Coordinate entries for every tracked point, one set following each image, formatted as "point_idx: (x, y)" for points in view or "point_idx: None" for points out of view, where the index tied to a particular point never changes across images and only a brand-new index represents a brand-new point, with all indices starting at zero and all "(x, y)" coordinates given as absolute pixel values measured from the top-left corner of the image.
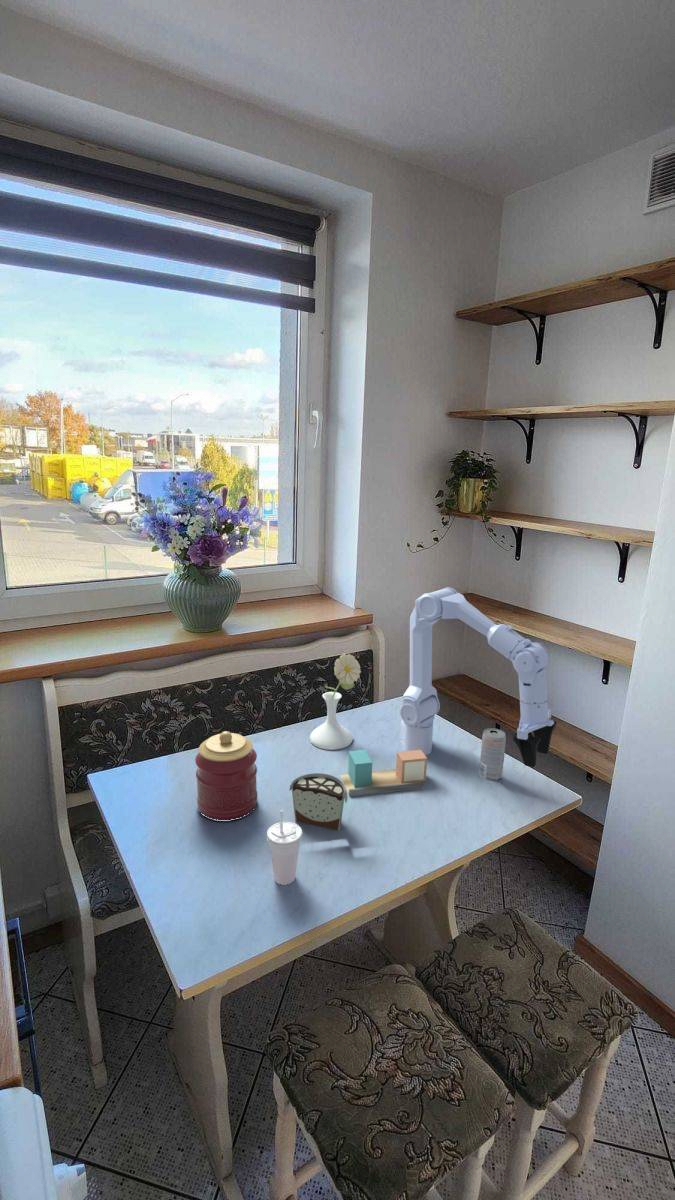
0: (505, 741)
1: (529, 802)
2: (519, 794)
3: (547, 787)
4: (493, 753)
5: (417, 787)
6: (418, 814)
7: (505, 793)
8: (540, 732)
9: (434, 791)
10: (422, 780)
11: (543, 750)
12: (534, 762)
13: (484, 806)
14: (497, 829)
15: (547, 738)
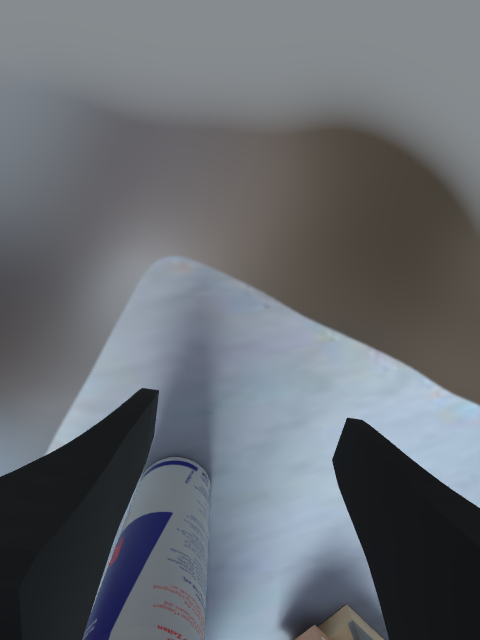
0: (132, 607)
1: (246, 354)
2: (217, 390)
3: (124, 323)
4: (203, 583)
5: (361, 630)
6: None
7: (234, 426)
8: (93, 556)
9: (324, 581)
10: (321, 634)
11: (151, 419)
12: (382, 435)
13: (331, 456)
14: (421, 398)
15: (116, 461)
